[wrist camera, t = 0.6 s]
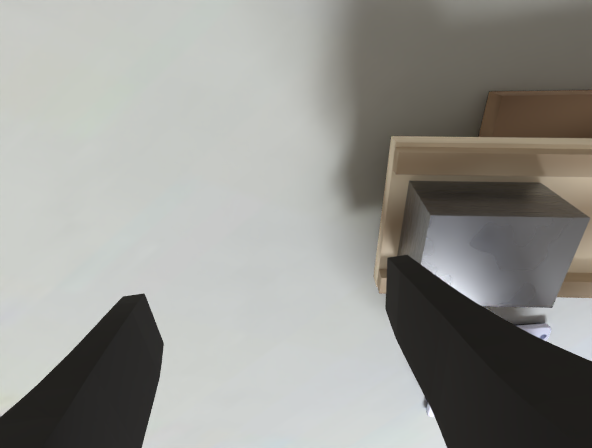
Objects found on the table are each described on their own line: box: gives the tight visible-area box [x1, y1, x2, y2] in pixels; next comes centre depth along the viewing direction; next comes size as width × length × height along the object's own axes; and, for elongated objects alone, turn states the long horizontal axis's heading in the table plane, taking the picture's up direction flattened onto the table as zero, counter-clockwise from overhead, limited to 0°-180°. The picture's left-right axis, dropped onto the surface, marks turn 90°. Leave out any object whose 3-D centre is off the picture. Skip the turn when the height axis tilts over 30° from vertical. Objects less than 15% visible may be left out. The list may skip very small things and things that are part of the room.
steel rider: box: [397, 181, 590, 308], centre depth 17 cm, size 4×6×4 cm
